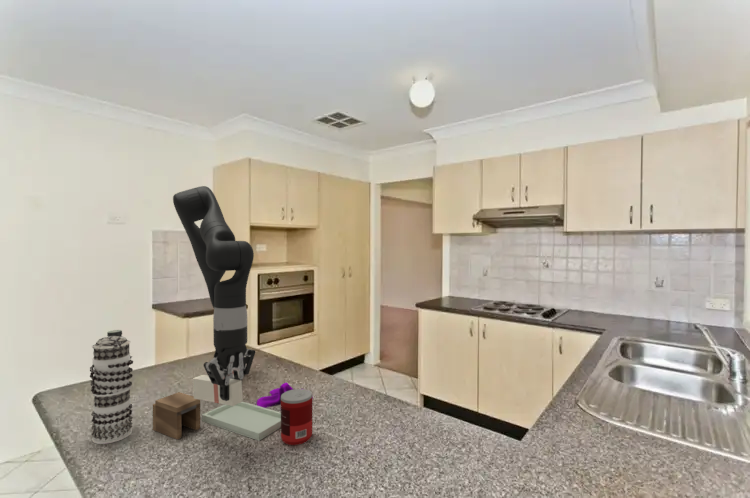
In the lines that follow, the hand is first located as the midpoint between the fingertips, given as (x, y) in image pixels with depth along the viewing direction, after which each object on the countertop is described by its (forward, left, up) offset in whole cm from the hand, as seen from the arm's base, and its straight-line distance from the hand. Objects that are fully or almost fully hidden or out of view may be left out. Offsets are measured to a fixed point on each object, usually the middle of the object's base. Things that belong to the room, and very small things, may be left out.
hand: (231, 396), depth 91 cm
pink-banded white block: (0, -5, -2) cm, 5 cm away
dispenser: (0, -20, -13) cm, 24 cm away
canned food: (-12, +10, -13) cm, 20 cm away
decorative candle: (+10, -32, -13) cm, 36 cm away
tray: (-12, -8, -13) cm, 19 cm away
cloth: (-29, -8, -13) cm, 33 cm away
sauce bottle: (-7, -63, -13) cm, 65 cm away
